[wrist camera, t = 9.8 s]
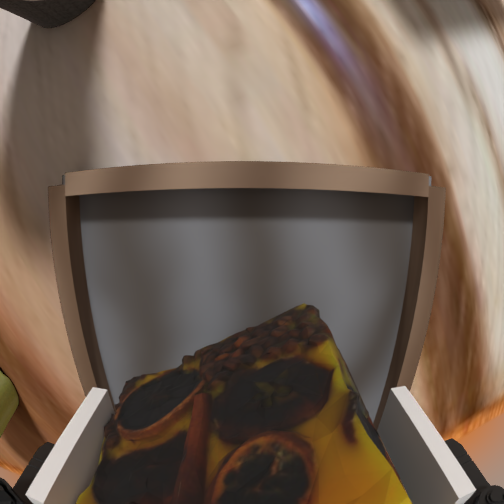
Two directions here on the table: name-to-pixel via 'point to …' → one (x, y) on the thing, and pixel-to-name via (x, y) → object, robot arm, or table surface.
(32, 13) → the coffee cup
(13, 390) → the plant pot
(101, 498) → the candle
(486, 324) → the table surface
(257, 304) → the wooden serving tray
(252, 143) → the table surface
